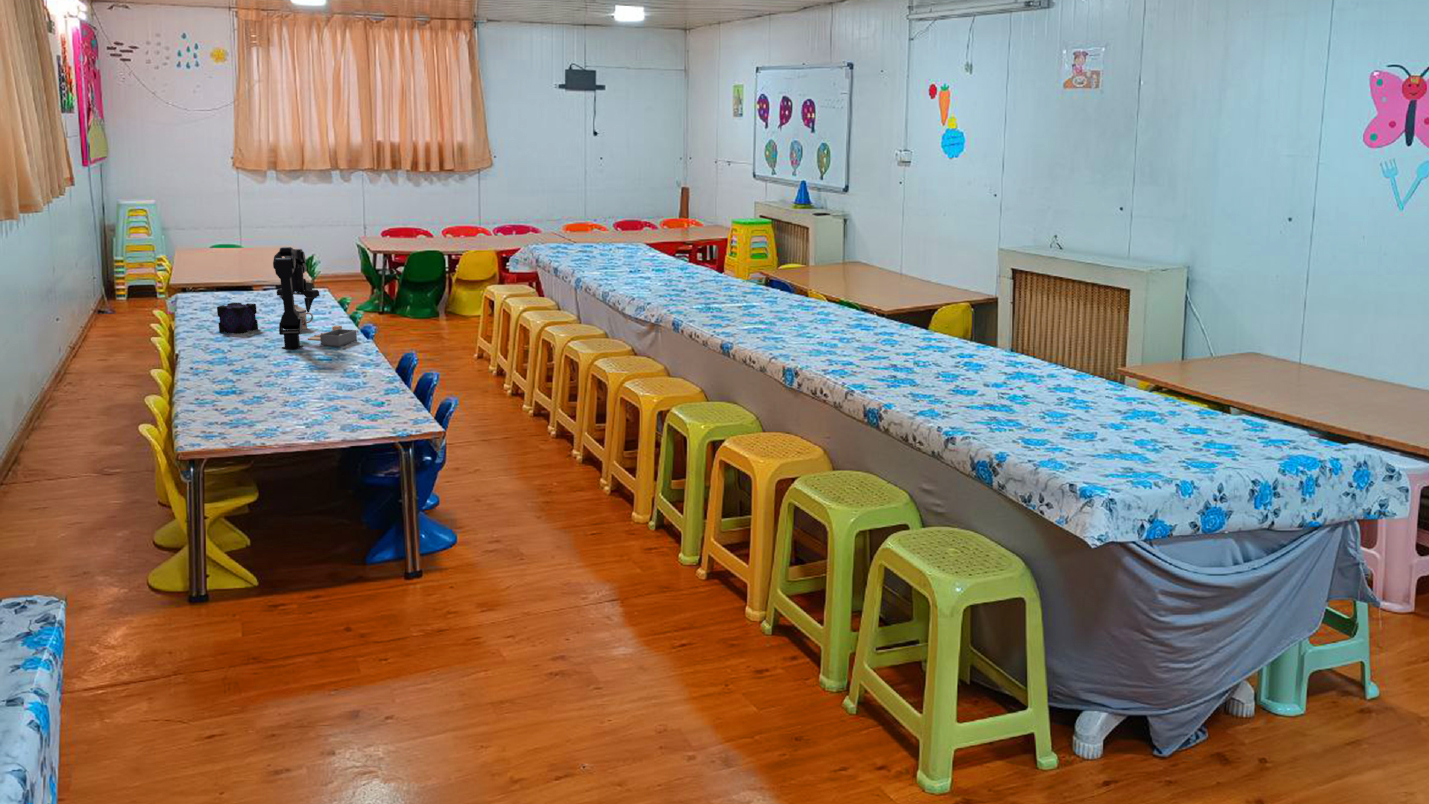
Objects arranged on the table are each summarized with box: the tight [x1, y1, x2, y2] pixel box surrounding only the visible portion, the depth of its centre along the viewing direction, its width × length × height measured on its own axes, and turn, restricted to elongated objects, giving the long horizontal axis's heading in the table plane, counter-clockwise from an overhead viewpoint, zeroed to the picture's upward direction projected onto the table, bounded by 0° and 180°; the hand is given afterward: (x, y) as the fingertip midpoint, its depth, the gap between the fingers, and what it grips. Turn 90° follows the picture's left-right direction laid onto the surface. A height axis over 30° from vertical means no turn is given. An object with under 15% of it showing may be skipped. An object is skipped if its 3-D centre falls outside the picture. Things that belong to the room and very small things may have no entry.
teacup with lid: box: [294, 303, 314, 331], centre depth 538 cm, size 12×9×12 cm
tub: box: [320, 328, 358, 348], centre depth 508 cm, size 14×9×5 cm, turn 165°
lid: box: [307, 325, 343, 342], centre depth 522 cm, size 17×10×4 cm, turn 165°
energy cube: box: [216, 302, 259, 335], centre depth 532 cm, size 12×12×12 cm
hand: (299, 311), depth 517 cm, fingers open, 9 cm apart
